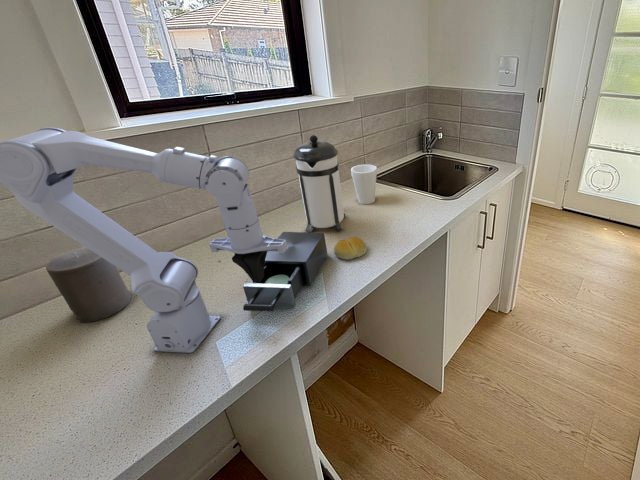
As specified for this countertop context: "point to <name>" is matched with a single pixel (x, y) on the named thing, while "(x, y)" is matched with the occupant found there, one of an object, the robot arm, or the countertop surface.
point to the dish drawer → (275, 288)
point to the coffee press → (320, 184)
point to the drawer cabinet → (302, 253)
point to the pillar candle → (88, 284)
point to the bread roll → (350, 248)
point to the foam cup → (364, 182)
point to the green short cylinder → (278, 279)
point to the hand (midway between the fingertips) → (258, 279)
